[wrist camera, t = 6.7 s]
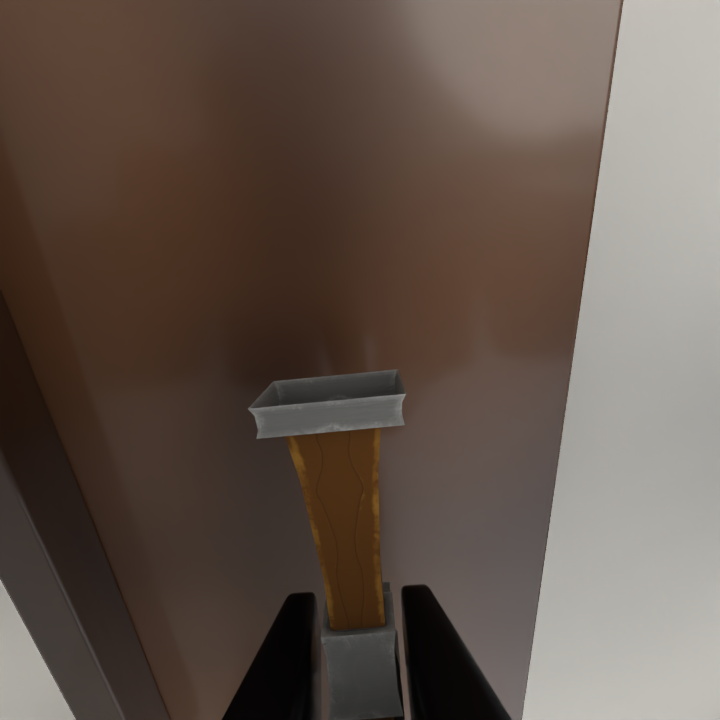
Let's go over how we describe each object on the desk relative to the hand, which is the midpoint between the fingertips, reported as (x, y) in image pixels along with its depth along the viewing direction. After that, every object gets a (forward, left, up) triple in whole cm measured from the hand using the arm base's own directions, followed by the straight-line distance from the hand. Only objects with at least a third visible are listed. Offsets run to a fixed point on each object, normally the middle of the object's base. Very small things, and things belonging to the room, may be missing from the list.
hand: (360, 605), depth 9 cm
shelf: (+1, 0, -9) cm, 9 cm away
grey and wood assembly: (0, 0, -2) cm, 2 cm away
